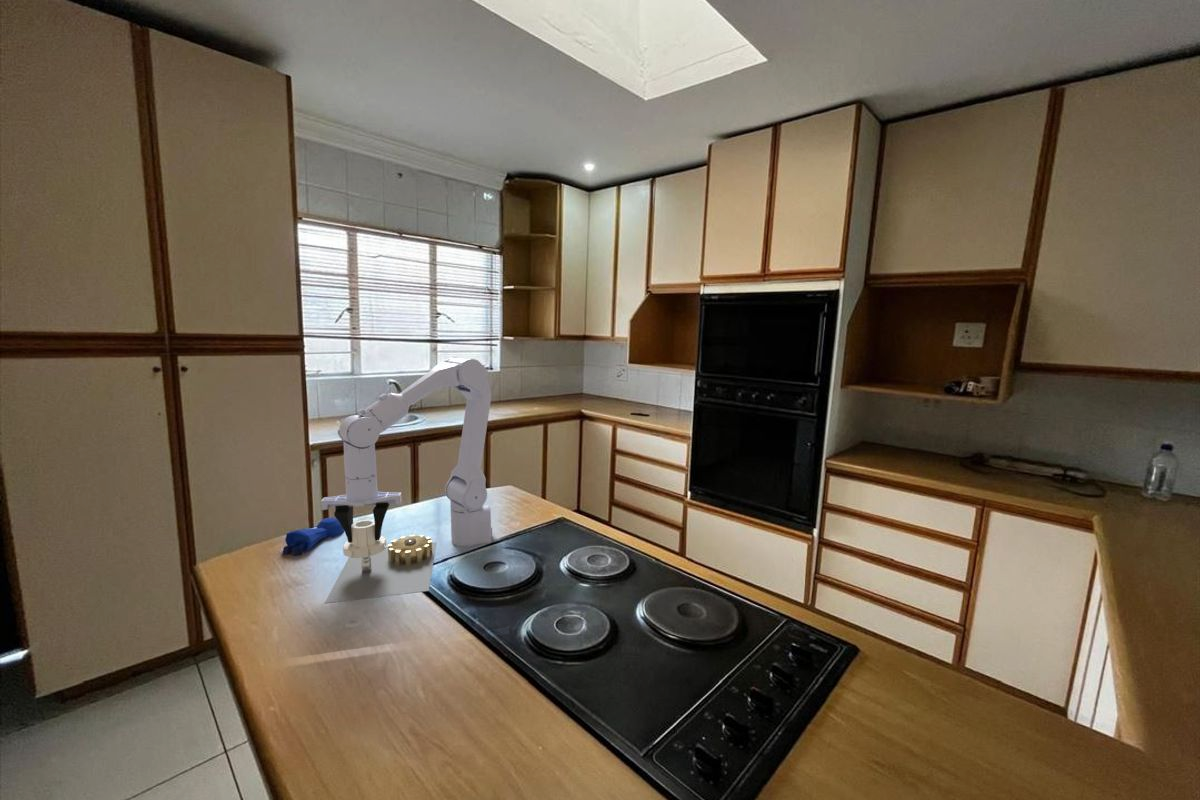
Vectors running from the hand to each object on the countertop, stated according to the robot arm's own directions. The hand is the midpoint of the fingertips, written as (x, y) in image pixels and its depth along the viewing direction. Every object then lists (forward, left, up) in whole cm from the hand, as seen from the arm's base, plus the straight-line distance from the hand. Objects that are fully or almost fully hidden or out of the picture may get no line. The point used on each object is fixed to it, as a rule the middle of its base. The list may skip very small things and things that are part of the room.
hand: (364, 539), depth 99 cm
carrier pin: (0, 0, -7) cm, 7 cm away
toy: (+14, -18, -8) cm, 25 cm away
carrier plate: (-4, 0, -8) cm, 9 cm away
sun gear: (-8, -5, -7) cm, 12 cm away
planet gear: (0, 0, -2) cm, 2 cm away
